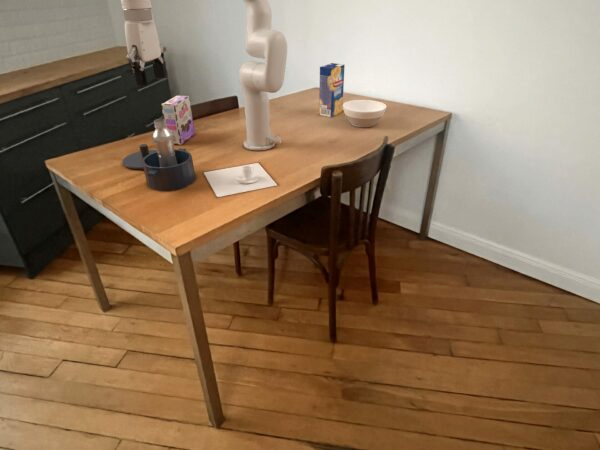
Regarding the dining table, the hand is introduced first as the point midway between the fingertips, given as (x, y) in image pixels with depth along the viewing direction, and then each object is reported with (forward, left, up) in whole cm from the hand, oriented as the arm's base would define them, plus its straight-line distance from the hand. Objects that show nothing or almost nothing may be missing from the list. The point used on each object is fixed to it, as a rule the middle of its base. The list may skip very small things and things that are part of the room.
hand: (151, 81), depth 119 cm
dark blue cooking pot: (0, 0, -32) cm, 32 cm away
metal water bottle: (0, 0, -32) cm, 32 cm away
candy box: (+15, -37, -32) cm, 51 cm away
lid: (+17, -13, -32) cm, 38 cm away
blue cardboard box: (-40, -85, -32) cm, 99 cm away
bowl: (-57, -72, -32) cm, 97 cm away
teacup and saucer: (-22, -6, -32) cm, 40 cm away
